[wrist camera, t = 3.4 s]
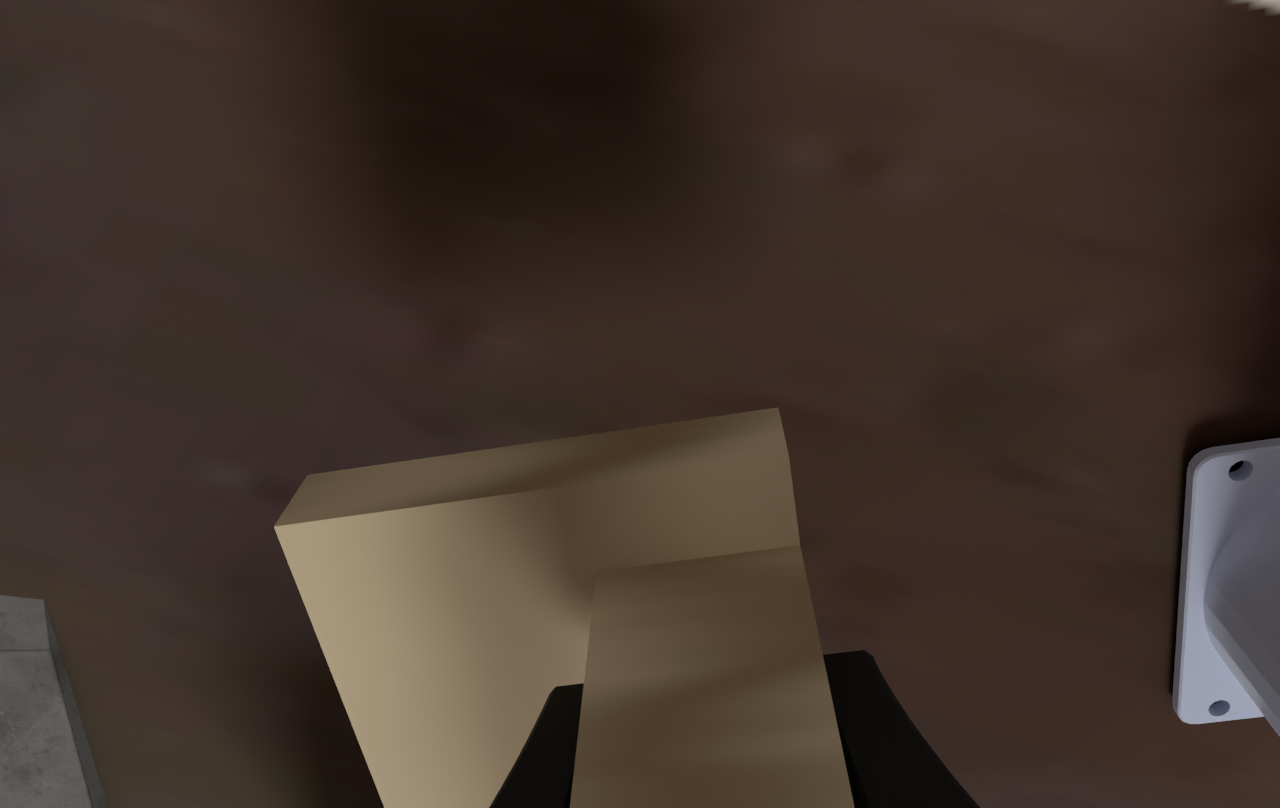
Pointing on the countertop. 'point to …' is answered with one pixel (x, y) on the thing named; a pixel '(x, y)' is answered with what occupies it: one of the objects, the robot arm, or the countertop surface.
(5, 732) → the cleaver
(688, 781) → the wooden post on base
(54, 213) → the countertop surface
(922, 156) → the countertop surface
